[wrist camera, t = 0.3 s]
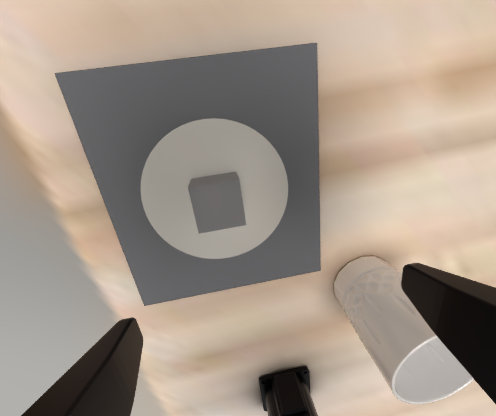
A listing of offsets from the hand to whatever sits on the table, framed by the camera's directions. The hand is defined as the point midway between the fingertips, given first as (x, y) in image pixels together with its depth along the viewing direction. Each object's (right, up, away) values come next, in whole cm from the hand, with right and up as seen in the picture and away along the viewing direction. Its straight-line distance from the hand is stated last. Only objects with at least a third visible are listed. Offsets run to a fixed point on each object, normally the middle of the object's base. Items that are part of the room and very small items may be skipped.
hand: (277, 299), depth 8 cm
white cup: (+12, -5, +19) cm, 23 cm away
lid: (-4, +4, +12) cm, 13 cm away
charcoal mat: (-4, +4, +12) cm, 14 cm away
